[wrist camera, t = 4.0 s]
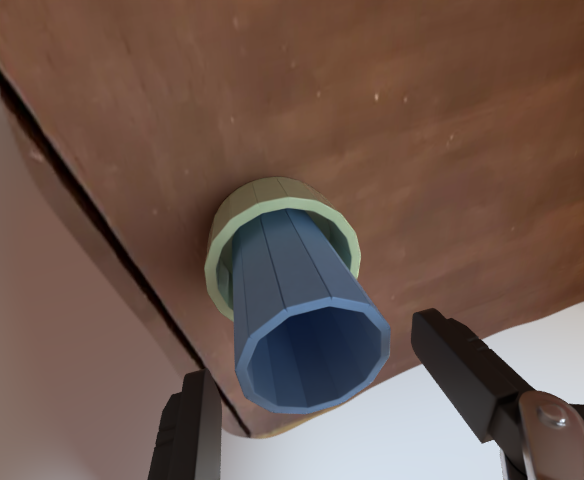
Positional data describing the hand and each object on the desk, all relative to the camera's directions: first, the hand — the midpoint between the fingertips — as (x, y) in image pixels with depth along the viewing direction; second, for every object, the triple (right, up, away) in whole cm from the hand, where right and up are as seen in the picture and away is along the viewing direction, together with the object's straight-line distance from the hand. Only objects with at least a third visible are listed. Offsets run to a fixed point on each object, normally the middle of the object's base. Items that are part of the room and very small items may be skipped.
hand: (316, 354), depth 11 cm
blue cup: (-2, +4, +8) cm, 10 cm away
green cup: (-2, +4, +9) cm, 10 cm away
